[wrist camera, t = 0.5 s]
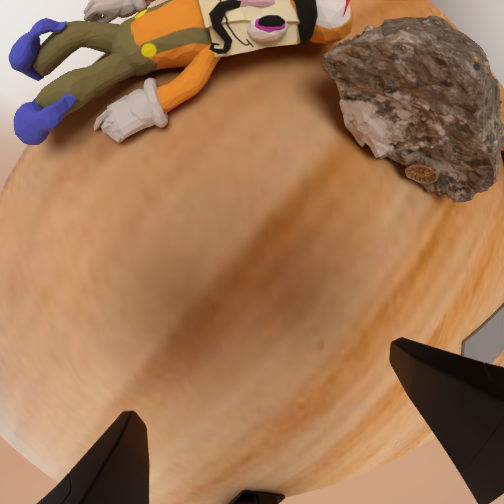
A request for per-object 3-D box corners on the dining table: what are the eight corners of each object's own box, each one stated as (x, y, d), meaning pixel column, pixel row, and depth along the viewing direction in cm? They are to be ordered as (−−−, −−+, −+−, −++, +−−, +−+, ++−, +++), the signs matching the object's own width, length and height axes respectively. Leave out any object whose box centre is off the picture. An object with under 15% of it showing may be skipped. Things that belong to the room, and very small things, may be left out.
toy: (4, 19, 7) (340, -69, 8) (52, 41, 16) (309, -26, 17) (14, 185, 14) (406, 83, 15) (71, 169, 23) (349, 97, 24)
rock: (505, 113, 6) (522, 9, 3) (284, 51, 15) (373, -23, 12) (467, 246, 20) (512, 145, 18) (362, 177, 29) (417, 97, 26)
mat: (456, 392, 28) (459, 393, 28) (462, 341, 27) (464, 342, 26) (502, 348, 29) (504, 349, 29) (507, 299, 28) (510, 300, 28)
